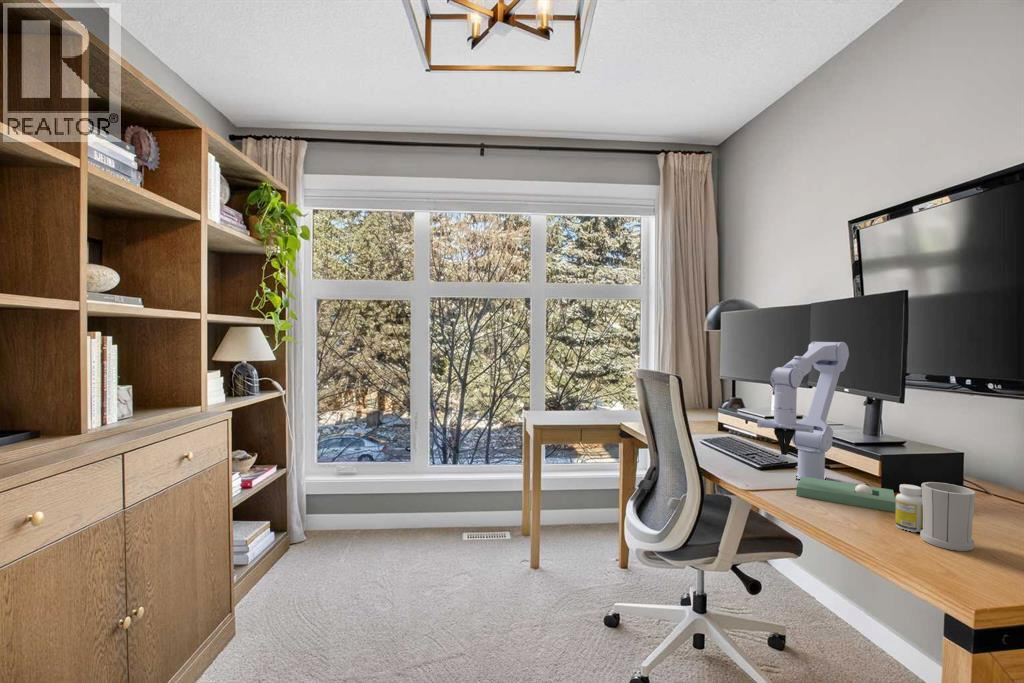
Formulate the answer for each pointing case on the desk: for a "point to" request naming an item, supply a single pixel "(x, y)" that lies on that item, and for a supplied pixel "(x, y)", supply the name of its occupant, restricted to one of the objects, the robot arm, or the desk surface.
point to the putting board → (845, 494)
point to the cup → (948, 516)
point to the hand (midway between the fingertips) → (784, 454)
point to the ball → (863, 489)
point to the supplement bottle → (909, 508)
